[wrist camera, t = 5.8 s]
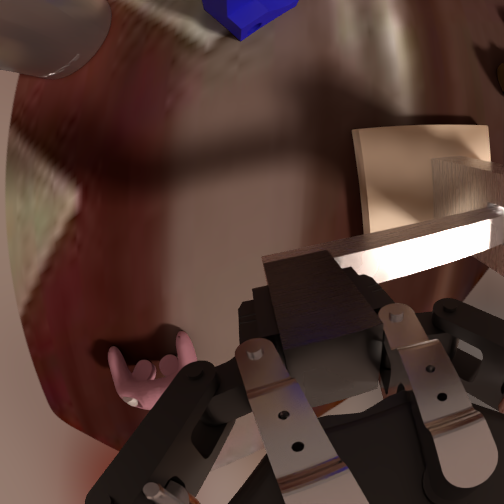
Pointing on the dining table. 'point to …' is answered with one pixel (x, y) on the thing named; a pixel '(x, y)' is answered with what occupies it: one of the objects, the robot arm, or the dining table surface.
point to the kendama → (501, 75)
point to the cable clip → (246, 13)
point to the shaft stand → (427, 176)
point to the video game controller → (149, 373)
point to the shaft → (358, 296)
